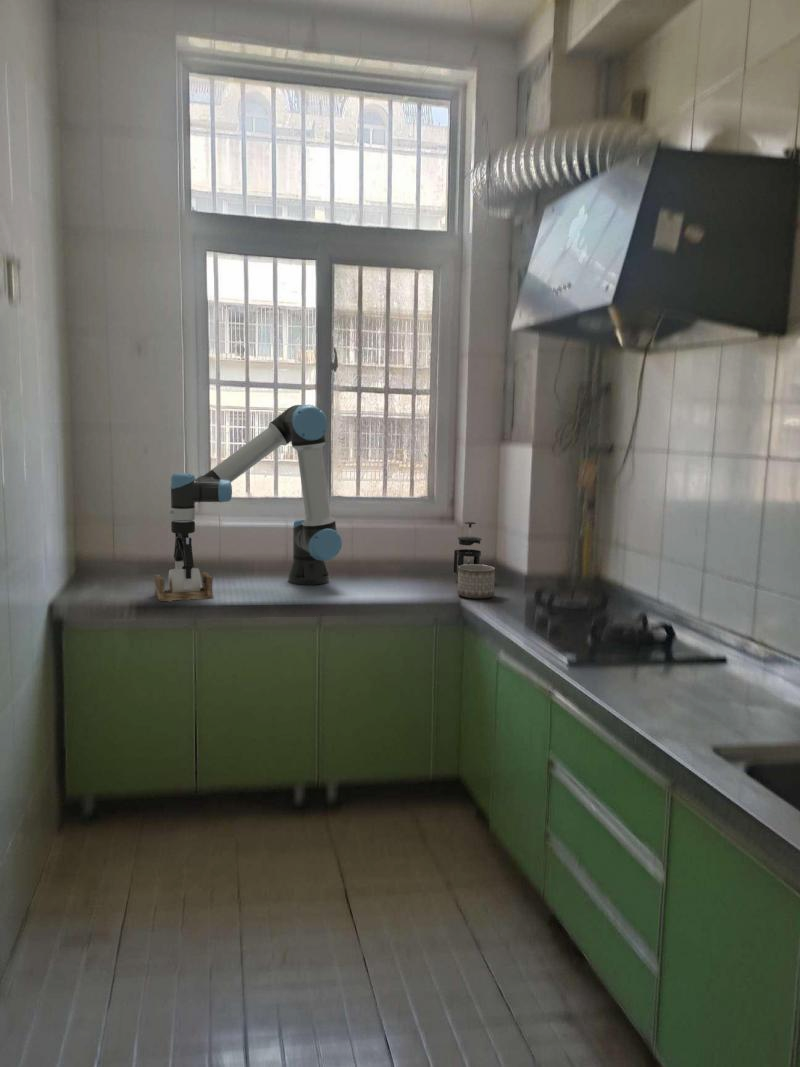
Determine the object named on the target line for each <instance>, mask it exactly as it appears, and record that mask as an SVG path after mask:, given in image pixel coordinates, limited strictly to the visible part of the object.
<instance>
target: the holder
mask: <svg viewBox="0 0 800 1067" xmlns="http://www.w3.org/2000/svg"><path fill="white" fill-rule="evenodd" d="M155 595H156V596H157V597H156V596H155ZM154 596H155V597H156V599H157V600H158V599H159V600H160V601H168V602H173V601H172V600H182V601H191V600H190V599H197V600H207V599H209V600H210V599H214V595H213V576H212V575H211V574H210V573H208V572H207V571H203V572H201V588H200V591H194V592H179V593H170V590H169V589H165V579H164V577H162V576H161V575H160V574H154ZM159 600H158V601H159ZM160 601H159V602H160Z"/></svg>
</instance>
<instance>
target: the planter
mask: <svg viewBox="0 0 800 1067" xmlns="http://www.w3.org/2000/svg"><path fill="white" fill-rule="evenodd" d="M465 564H466V565H460V566H457V571H458V583H457V593H456V594H457V595H459V596H461V597H465V598H467V597H470V598H469V599H471V598H483V599H486V598H487V599H488V598H492V597H493V596H494V594H495V574H496V568H495V567H494V566H491V565H487V564H480V563H479V564H474V563H473V564H472V563H470V564H467V563H465Z"/></svg>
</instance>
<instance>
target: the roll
mask: <svg viewBox="0 0 800 1067" xmlns="http://www.w3.org/2000/svg"><path fill="white" fill-rule="evenodd" d="M200 588H202V575H201V572H200V569H199V567H195V568H194V567H193V568H192V588H186V589H184V588H183V569H175V568H173V569H171V568H170V569H169V571H168V590H170V593H179V592H194V591H200Z"/></svg>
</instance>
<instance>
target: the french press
mask: <svg viewBox="0 0 800 1067" xmlns="http://www.w3.org/2000/svg"><path fill="white" fill-rule="evenodd" d="M476 523H477V522H474V521H466V522H464V524H466V525H468V528H469V529H468V530H469V532H468V533H469V535H468V536H459V537H457V540H458V544H459V545H460V546H468V548H463V549H455V550H454V551H453V552H454V553H453V554H454V555H453V558H454V559H453V573H455V574H456V575H455V581H454V582H455V583H456V584H458V566H460V565H466V564H471V563H470V557H471V558H472V557H473V564H479V565H480V556H481V555H482V551H481V550H478V549H470V548H471V547H470V546H472V545H473V544H479V545H480V544H481V541H482V537H477V536H471V528H472V526H473V525H476ZM465 557H468V559H467V563H464V560H465V559H464V558H465Z"/></svg>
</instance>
